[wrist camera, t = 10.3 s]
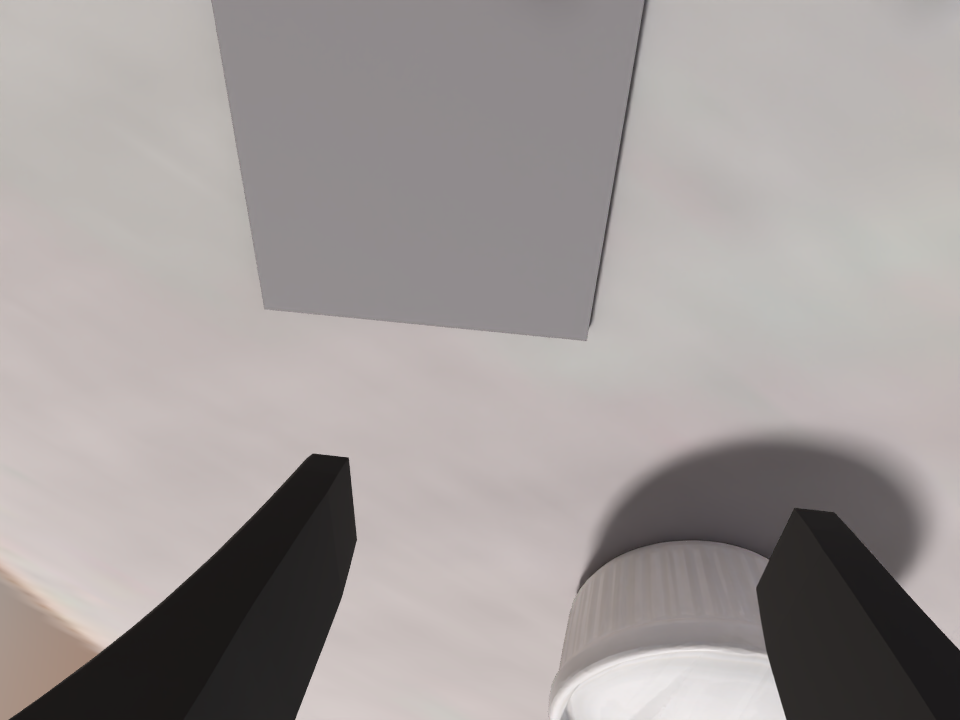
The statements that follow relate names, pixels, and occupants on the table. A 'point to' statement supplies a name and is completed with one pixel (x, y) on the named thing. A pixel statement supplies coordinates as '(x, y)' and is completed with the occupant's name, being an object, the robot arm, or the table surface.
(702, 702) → the ramekin
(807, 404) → the table surface
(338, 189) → the mat
